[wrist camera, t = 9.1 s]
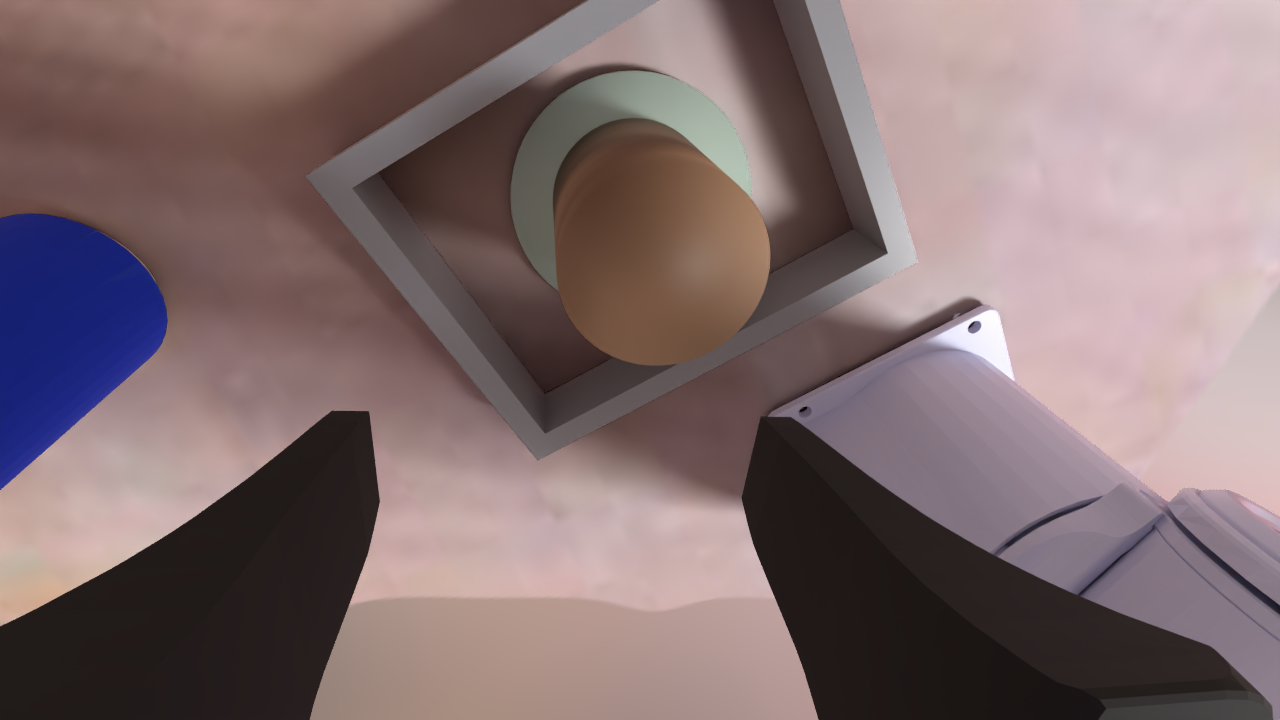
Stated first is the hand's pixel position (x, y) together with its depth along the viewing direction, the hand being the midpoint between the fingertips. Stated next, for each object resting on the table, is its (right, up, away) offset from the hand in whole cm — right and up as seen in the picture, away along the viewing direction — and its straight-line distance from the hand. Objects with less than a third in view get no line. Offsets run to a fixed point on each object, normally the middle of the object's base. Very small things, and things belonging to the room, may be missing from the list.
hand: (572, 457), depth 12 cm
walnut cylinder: (+1, +7, +8) cm, 10 cm away
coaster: (+1, +7, +8) cm, 11 cm away
